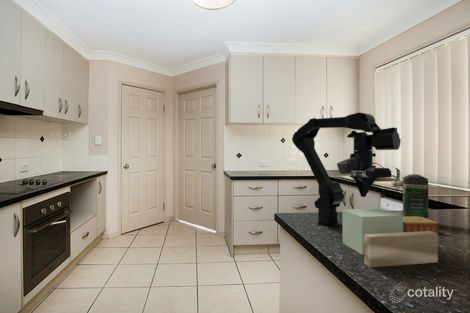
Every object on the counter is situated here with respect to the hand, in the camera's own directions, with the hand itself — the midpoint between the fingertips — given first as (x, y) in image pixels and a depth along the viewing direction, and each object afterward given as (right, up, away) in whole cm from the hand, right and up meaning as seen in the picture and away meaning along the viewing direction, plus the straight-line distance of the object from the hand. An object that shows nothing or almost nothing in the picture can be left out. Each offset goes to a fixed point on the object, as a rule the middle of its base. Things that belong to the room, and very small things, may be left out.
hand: (363, 196), depth 83 cm
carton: (+16, -13, +3) cm, 21 cm away
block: (-5, -12, -13) cm, 18 cm away
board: (-3, -12, -24) cm, 27 cm away
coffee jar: (+26, -12, +12) cm, 31 cm away
